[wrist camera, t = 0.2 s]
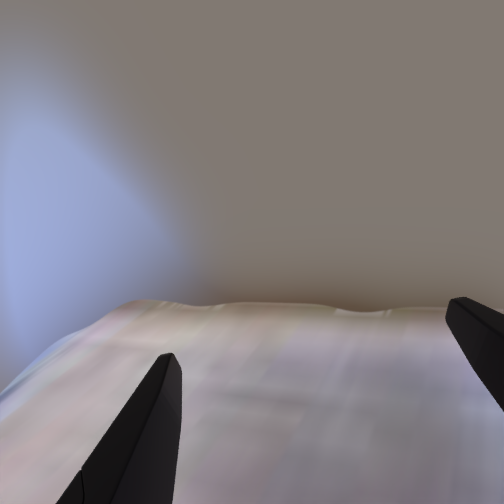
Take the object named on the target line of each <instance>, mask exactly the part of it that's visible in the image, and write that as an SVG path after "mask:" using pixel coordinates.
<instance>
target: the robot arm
mask: <svg viewBox="0 0 504 504" xmlns="http://www.w3.org/2000/svg"><path fill="white" fill-rule="evenodd" d="M445 319H446V323H447V325H448V327H449V328H450V330H451V332H452V334H453V335H454V337H455V339H456V341H457V342H458V344H459V346H460V348H461V349H462V351H463V353H464V354H465V356H466V358H467V360H468V361H469V363H470V365H471V366H472V368H473V369H474V371H475V372H476V374H477V375H478V377H479V378H480V379H481V381H482V382H483V384H484V385H485V386H486V388H487V389H488V391H489V392H490V393H491V395H492V396H493V397H494V399H495V400H496V402H497V403H498V404H499V406H500V407H501V409H502V410H503V411H504V314H502V313H500V312H497V311H495V310H493V309H491V308H489V307H486V306H485V305H482V304H480V303H478V302H476V301H474V300H472V299H469V298H467V297H459V298H454V299H451V300H450V302H449V305H448V308H447V312H446V316H445ZM181 420H182V370H181V367H180V365H179V363H178V361H177V359H176V357H175V355H174V354H173V353H166V354H162V355H160V356H159V357H158V358H157V359H156V361H155V362H154V364H153V365H152V367H151V368H150V370H149V371H148V372H147V374H146V375H145V377H144V378H143V380H142V381H141V382H140V384H139V385H138V387H137V388H136V390H135V391H134V393H133V394H132V395H131V397H130V398H129V400H128V401H127V403H126V404H125V406H124V407H123V408H122V410H121V411H120V413H119V414H118V416H117V417H116V418H115V420H114V421H113V423H112V424H111V426H110V427H109V429H108V430H107V431H106V433H105V434H104V436H103V437H102V439H101V440H100V441H99V443H98V444H97V446H96V447H95V449H94V450H93V452H92V453H91V454H90V456H89V457H88V459H87V460H86V462H85V463H84V464H83V466H82V468H81V470H80V471H79V472H78V473H77V474H76V476H75V477H74V479H73V480H72V482H71V483H70V484H69V486H68V487H67V489H66V490H65V491H64V493H63V494H62V496H61V497H60V498H59V500H58V501H57V503H56V504H172V501H173V492H174V484H175V475H176V466H177V458H178V449H179V440H180V432H181Z"/></svg>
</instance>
